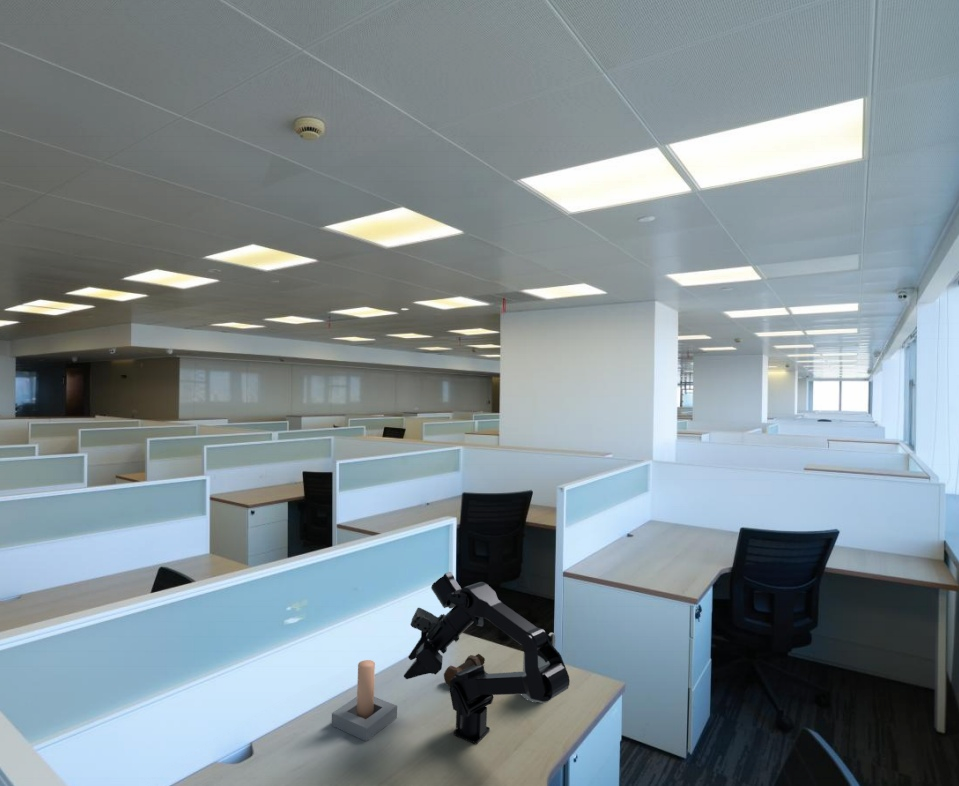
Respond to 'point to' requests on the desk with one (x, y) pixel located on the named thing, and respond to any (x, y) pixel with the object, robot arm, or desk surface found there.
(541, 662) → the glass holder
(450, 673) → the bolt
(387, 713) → the socket block
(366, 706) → the peg
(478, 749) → the desk surface
